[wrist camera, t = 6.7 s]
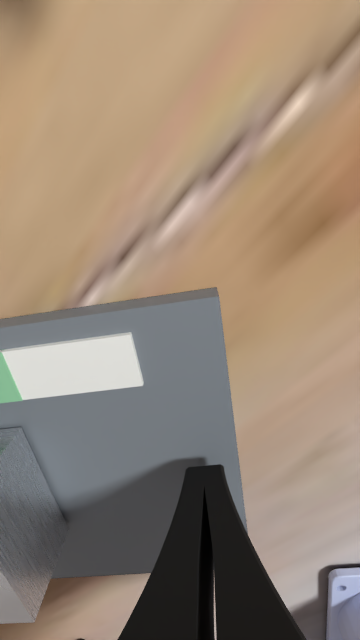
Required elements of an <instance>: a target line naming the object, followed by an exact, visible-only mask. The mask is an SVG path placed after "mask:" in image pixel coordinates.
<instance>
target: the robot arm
mask: <svg viewBox="0 0 360 640" xmlns="http://www.w3.org/2000/svg"><path fill="white" fill-rule="evenodd" d="M214 578H215V603H216V631H217V640H306V638H305V637H304V635H303V633H302V632H301V630H300V629H299V627H298V625H297V624H296V622H295V621H294V619H293V617H292V616H291V614H290V613H289V611H288V609H287V608H286V606H285V604H284V602H283V601H282V599H281V597H280V595H279V594H278V592H277V590H276V588H275V587H274V585H273V583H272V581H271V579H270V578H269V576H268V574H267V572H266V570H265V568H264V567H263V565H262V563H261V561H260V559H259V557H258V555H257V553H256V551H255V549H254V547H253V545H252V543H251V541H250V539H249V536H248V534H247V532H246V530H245V528H244V525H243V523H242V521H241V518H240V516H239V514H238V511H237V509H236V506H235V504H234V501H233V499H232V496H231V493H230V490H229V487H228V484H227V480H226V476H225V471H224V466H222V465H221V464H218V465H207V466H196V467H188V468H187V469H186V470H185V476H184V481H183V485H182V489H181V493H180V497H179V500H178V504H177V507H176V510H175V513H174V516H173V519H172V522H171V525H170V528H169V531H168V533H167V536H166V538H165V541H164V544H163V546H162V549H161V551H160V554H159V556H158V559H157V561H156V563H155V566H154V568H153V570H152V573H151V575H150V577H149V579H148V581H147V584H146V586H145V588H144V590H143V592H142V594H141V596H140V598H139V600H138V602H137V604H136V606H135V608H134V610H133V612H132V614H131V616H130V618H129V620H128V622H127V624H126V625H125V627H124V629H123V631H122V633H121V635H120V636H119V638H118V640H215V639H214ZM326 640H360V567H358V568H339V569H334V570H332V571H331V572H330V573H329V583H328V608H327V632H326Z"/></svg>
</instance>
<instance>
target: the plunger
mask: <svg viewBox="0 0 360 640" xmlns="http://www.w3.org/2000/svg"><path fill="white" fill-rule="evenodd" d="M68 530H69V529H68V527H67V524H66V522H65V520H64V518H63V516H62V514H61V512H60V509H59V507H58V505H57V503H56V501H55V499H54V497H53V494H52V492H51V490H50V488H49V486H48V484H47V481H46V479H45V477H44V475H43V473H42V471H41V469H40V466H39V464H38V462H37V460H36V458H35V456H34V454H33V451H32V449H31V447H30V445H29V443H28V441H27V438H26V436H25V434H24V432H23V430H22V428H21V427H18V428H9V429H0V624H7V623H32V622H35V619H36V617H37V614H38V611H39V609H40V606H41V603H42V601H43V598H44V595H45V592H46V590H47V587H48V584H49V582H50V579H51V576H52V574H53V571H54V568H55V566H56V563H57V560H58V557H59V555H60V552H61V549H62V547H63V544H64V541H65V539H66V536H67V533H68Z"/></svg>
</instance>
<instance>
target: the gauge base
mask: <svg viewBox="0 0 360 640" xmlns="http://www.w3.org/2000/svg"><path fill="white" fill-rule="evenodd" d="M18 427H21V428H22V430H23V432H24V434H25V436H26V438H27V441H28V443H29V445H30V447H31V449H32V451H33V454H34V456H35V458H36V460H37V462H38V464H39V466H40V469H41V471H42V473H43V475H44V477H45V479H46V481H47V484H48V486H49V488H50V490H51V492H52V494H53V497H54V499H55V501H56V503H57V505H58V507H59V509H60V512H61V514H62V516H63V518H64V520H65V522H66V524H67V527H68V529H69V530H68V533H67V536H66V539H65V541H64V544H63V547H62V549H61V552H60V555H59V557H58V560H57V563H56V566H55V568H54V571H53V574H52V576H51V579H52V578H70V577H88V576H106V575H124V574H142V573H152V570H153V568H154V566H155V563H156V561H157V559H158V556H159V554H160V551H161V549H162V546H163V544H164V541H165V538H166V536H167V533H168V531H169V528H170V525H171V522H172V519H173V516H174V513H175V510H176V507H177V504H178V500H179V497H180V493H181V489H182V485H183V481H184V476H185V470H186V469H187V468H188V467H196V466H207V465H218V464H221V465H222V466H224V471H225V476H226V480H227V484H228V487H229V490H230V493H231V496H232V499H233V501H234V504H235V506H236V509H237V511H238V514H239V516H240V518H241V521H242V523H243V525H244V528H245V530H246V532H247V524H246V516H245V508H244V499H243V491H242V483H241V475H240V466H239V458H238V450H237V442H236V433H235V425H234V417H233V409H232V400H231V392H230V384H229V375H228V367H227V359H226V351H225V342H224V334H223V326H222V318H221V309H220V301H219V295H218V291H217V287H215V288H208V289H201V290H195V291H188V292H181V293H174V294H168V295H161V296H154V297H147V298H140V299H134V300H127V301H120V302H113V303H107V304H100V305H93V306H86V307H80V308H73V309H66V310H59V311H52V312H46V313H39V314H32V315H25V316H19V317H12V318H5V319H0V429H9V428H18ZM247 534H248V533H247Z"/></svg>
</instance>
